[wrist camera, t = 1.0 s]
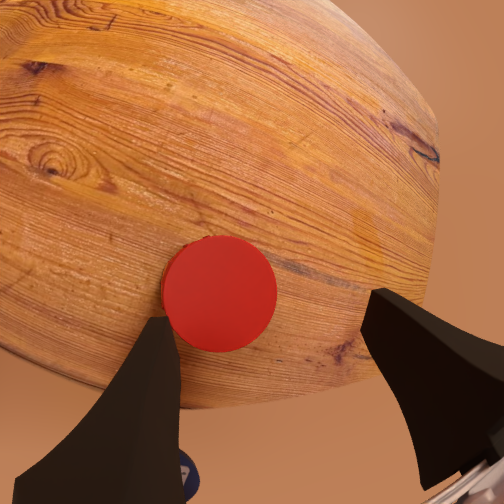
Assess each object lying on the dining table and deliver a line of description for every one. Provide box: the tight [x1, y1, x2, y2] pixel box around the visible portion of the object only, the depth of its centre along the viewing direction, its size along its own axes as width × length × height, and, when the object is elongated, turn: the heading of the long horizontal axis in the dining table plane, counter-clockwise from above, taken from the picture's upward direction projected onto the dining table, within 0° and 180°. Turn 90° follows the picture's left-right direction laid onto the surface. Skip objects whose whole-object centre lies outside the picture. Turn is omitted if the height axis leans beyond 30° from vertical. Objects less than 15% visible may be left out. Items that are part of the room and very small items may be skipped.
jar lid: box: [160, 235, 277, 352], centre depth 14 cm, size 6×6×2 cm
